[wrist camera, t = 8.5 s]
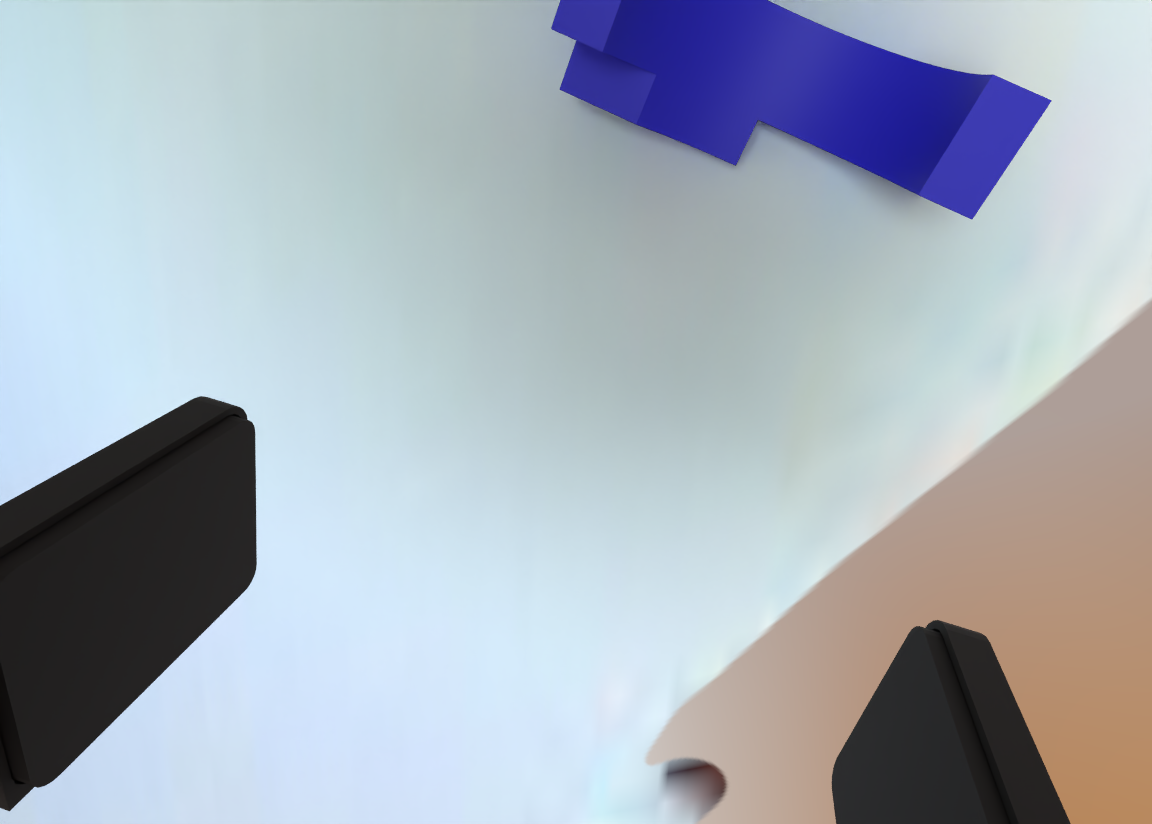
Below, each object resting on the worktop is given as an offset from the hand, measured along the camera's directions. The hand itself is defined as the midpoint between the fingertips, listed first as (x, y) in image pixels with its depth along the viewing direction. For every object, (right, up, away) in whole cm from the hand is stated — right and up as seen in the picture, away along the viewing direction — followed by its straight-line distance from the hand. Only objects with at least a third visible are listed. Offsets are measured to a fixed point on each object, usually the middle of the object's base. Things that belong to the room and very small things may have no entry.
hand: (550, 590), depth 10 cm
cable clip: (+7, +13, +13) cm, 20 cm away
